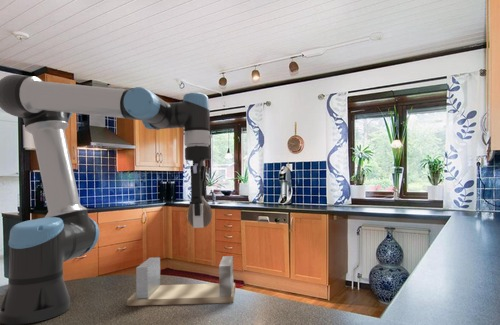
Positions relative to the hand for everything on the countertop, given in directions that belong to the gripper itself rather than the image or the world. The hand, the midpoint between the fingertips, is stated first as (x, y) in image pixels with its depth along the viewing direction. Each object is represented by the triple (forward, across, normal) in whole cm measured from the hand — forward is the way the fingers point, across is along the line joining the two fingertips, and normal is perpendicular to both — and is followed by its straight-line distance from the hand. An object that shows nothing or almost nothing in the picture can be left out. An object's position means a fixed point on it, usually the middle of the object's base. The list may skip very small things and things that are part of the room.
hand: (200, 225), depth 94 cm
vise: (+19, -1, +5) cm, 20 cm away
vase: (+1, 0, 0) cm, 1 cm away
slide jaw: (+18, -1, +15) cm, 23 cm away
